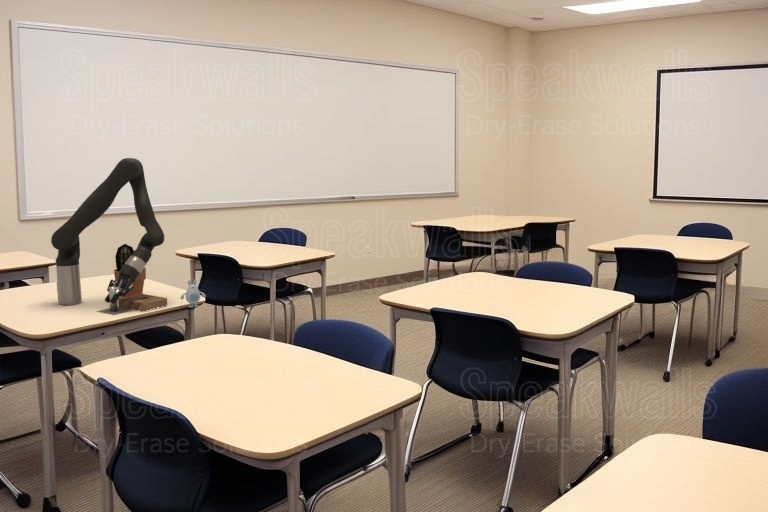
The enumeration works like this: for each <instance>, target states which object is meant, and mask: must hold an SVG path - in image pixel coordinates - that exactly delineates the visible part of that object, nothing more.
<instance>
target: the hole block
mask: <svg viewBox="0 0 768 512" xmlns="http://www.w3.org/2000/svg"><path fill="white" fill-rule="evenodd" d="M117 303H118V308H122V309H127V310H132V309H133V310H134V311H138V310H140V311H139V312H143V311H145V312H147V311H146V310H150V309H153V308H157V307H162V306H166V305H167V306H168V298H167V297H163V296H157V295H152V294H151V295H150V294H146V293H142V294H137V295H133V296H128V297H123V298H121V297H119V298H118V300H117ZM167 306H166V307H167ZM162 308H163V307H162ZM133 310H132V311H133ZM150 311H151V310H150Z"/></svg>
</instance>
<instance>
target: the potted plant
mask: <svg viewBox="0 0 768 512" xmlns="http://www.w3.org/2000/svg"><path fill="white" fill-rule="evenodd" d="M134 251H135V250H134V248H133V246H131V245H128V243H124V244H121V246H119V247H117V250H116V253H115V257H114V258H115V268H116V269H114V270H113V275H114V280H116V279H117V278H118V277H119V271H120V270H121V268H122V267H123V266H124V264H125V263H126V261H127V260H128V259H129V258H130V257H131V255H132V254H133V253H134ZM146 271H147V268H146V267H144V269H143V270H142V272H141V273H140V275H139V276H138V278H137V279H136V281H135V282H132V283H131V284H132V285H133V286H134V288H133V289H131V290H130V291H129V292H128V293H127V294H126V295H125V296H121V297H120V298H123V297H128V296H133V295H137V294H144V286H145V284H144V283H145V280H146V279H147V272H146Z"/></svg>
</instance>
